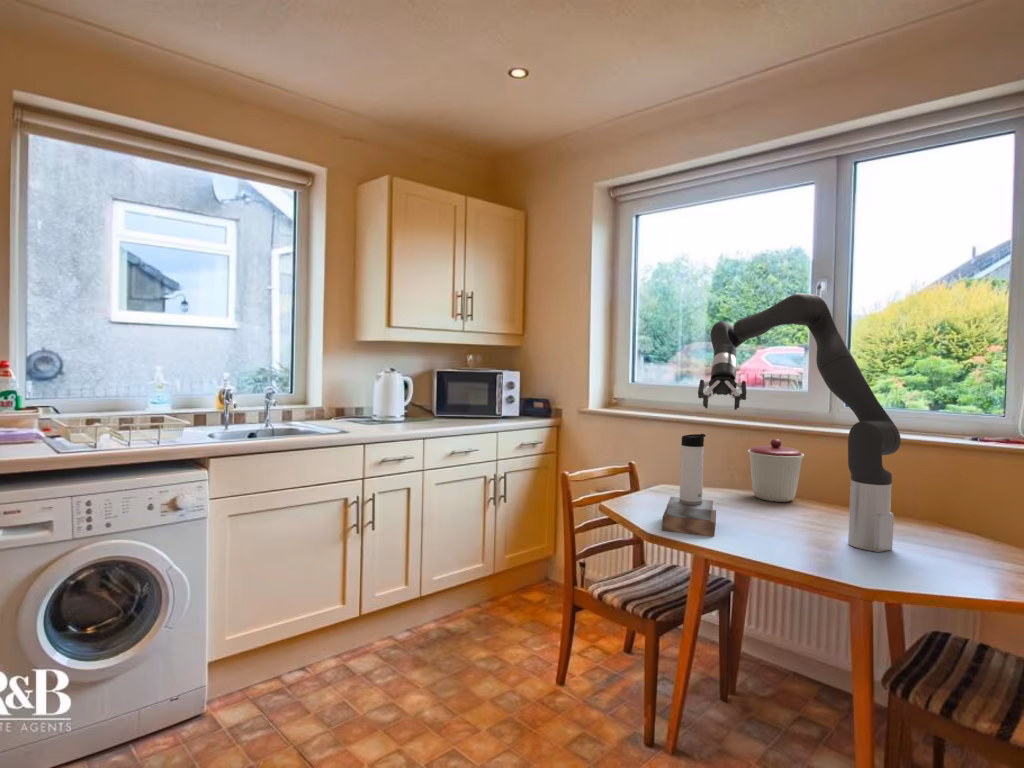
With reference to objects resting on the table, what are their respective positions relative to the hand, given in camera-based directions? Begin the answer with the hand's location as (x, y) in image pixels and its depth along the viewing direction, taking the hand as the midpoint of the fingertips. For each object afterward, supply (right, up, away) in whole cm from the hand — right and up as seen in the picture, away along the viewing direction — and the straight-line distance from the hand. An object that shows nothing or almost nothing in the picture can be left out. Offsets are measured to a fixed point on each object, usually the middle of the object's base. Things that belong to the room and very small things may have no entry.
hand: (720, 407), depth 187 cm
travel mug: (-12, -27, -11) cm, 32 cm away
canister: (+28, -33, +26) cm, 51 cm away
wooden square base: (-13, -34, -11) cm, 38 cm away
